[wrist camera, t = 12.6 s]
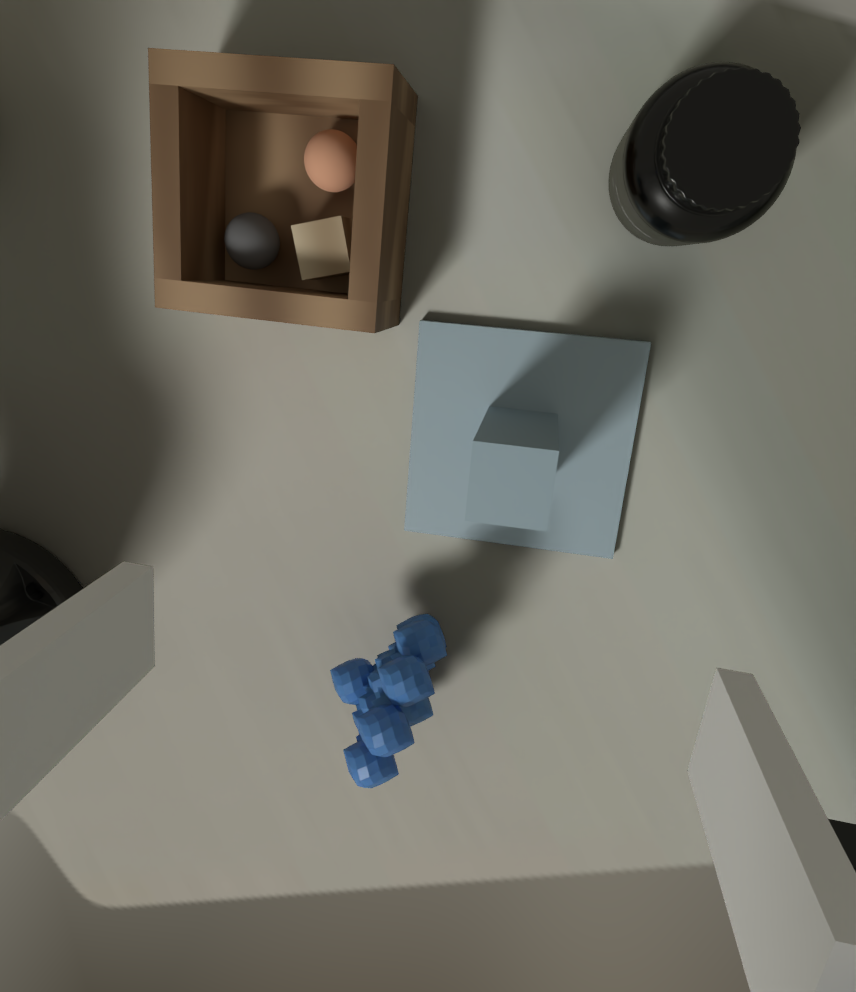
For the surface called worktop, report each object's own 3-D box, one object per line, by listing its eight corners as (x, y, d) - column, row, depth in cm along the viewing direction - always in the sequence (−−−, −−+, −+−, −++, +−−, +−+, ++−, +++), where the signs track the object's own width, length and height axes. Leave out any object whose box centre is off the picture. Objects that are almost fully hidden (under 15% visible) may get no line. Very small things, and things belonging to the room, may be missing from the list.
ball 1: (237, 267, 41) (214, 266, 38) (238, 212, 40) (214, 207, 37) (286, 272, 41) (267, 272, 38) (288, 217, 40) (268, 212, 37)
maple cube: (318, 279, 40) (301, 280, 38) (308, 228, 40) (290, 225, 37) (364, 271, 40) (351, 271, 37) (355, 219, 39) (341, 215, 36)
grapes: (384, 551, 46) (330, 641, 35) (479, 591, 46) (456, 696, 34) (330, 689, 50) (265, 811, 38) (417, 727, 49) (378, 861, 38)
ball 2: (313, 192, 39) (294, 186, 36) (315, 133, 38) (296, 121, 35) (365, 197, 39) (350, 191, 36) (369, 137, 38) (354, 126, 35)
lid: (407, 525, 45) (369, 591, 36) (422, 319, 41) (384, 333, 32) (611, 552, 44) (627, 629, 34) (648, 340, 39) (679, 362, 30)
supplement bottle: (588, 227, 38) (603, 207, 27) (636, 89, 36) (675, 4, 24) (711, 264, 38) (779, 261, 26) (767, 127, 35) (869, 59, 24)
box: (207, 302, 43) (155, 307, 37) (206, 80, 39) (148, 48, 33) (398, 324, 41) (374, 333, 36) (417, 95, 37) (393, 64, 32)
